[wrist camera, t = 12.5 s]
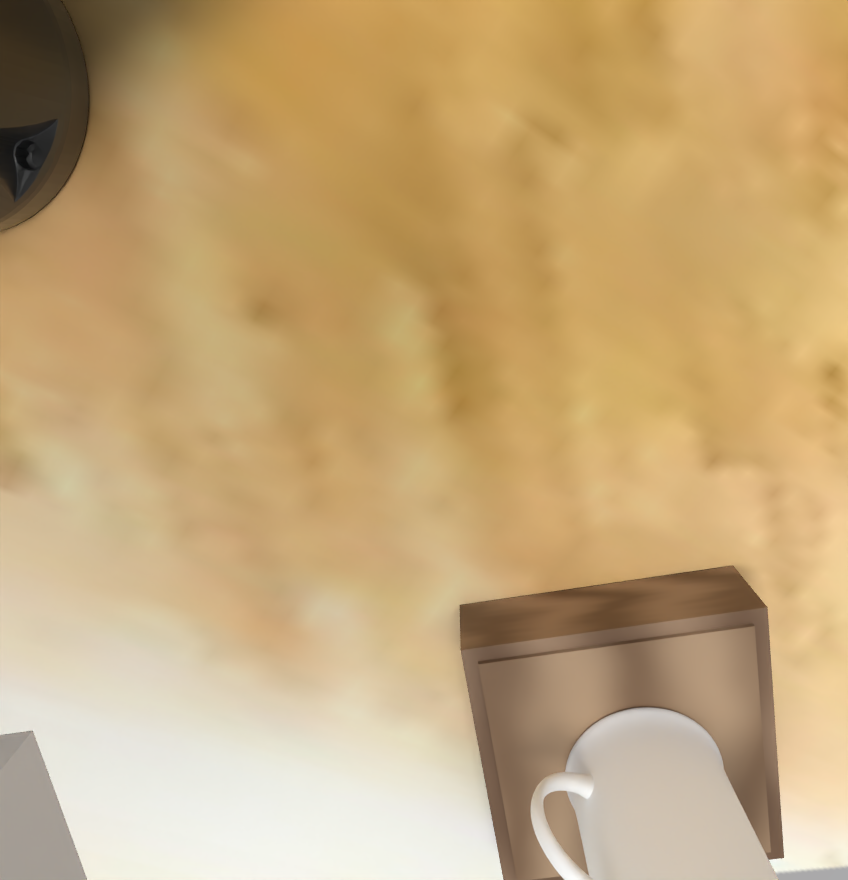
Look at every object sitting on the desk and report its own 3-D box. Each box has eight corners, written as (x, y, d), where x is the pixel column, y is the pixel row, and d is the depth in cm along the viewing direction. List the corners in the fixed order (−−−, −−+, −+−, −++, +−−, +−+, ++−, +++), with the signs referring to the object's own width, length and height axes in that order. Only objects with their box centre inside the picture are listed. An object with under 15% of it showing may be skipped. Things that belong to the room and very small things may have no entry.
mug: (484, 765, 42) (497, 969, 31) (572, 649, 40) (620, 821, 28) (660, 860, 43) (735, 1090, 32) (753, 753, 41) (870, 957, 30)
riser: (500, 825, 50) (505, 893, 44) (459, 605, 45) (460, 653, 40) (750, 794, 48) (786, 862, 43) (733, 565, 44) (769, 610, 39)
